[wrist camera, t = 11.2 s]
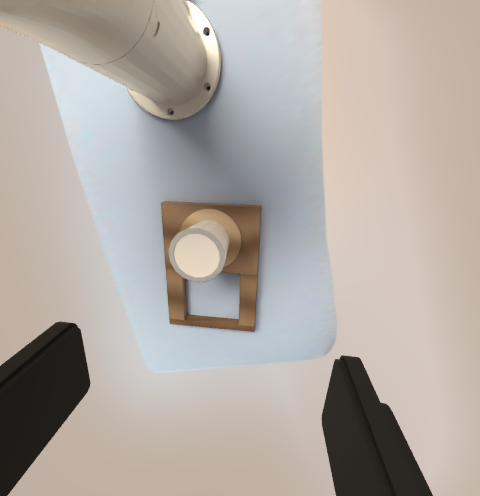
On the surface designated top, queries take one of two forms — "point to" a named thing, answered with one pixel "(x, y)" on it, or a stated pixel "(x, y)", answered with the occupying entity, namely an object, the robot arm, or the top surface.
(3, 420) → the robot arm
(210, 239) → the cream short cylinder
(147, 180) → the top surface
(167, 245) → the pocket board
